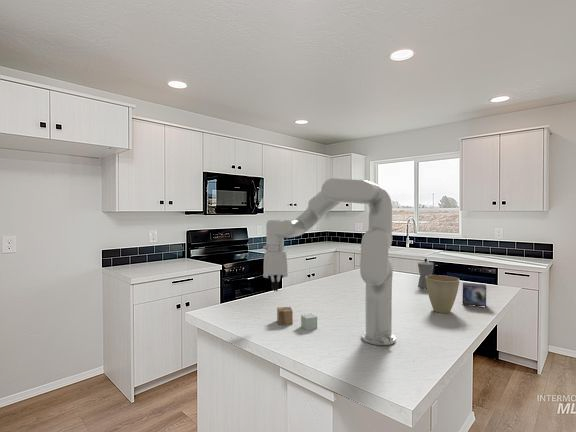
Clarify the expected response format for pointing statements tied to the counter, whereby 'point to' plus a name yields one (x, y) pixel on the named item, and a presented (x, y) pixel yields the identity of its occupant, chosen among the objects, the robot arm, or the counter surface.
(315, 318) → the sage block
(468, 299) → the picture frame
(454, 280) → the plant pot
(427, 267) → the coffeepot
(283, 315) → the walnut block
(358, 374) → the counter surface
